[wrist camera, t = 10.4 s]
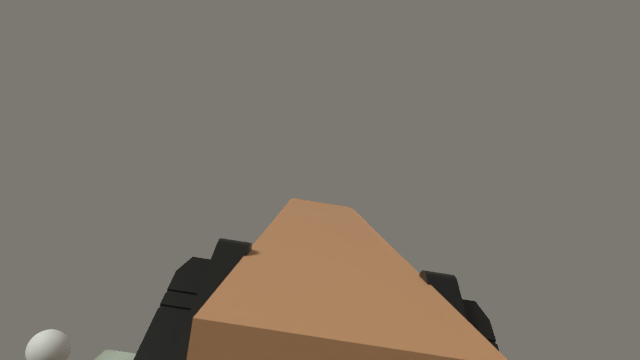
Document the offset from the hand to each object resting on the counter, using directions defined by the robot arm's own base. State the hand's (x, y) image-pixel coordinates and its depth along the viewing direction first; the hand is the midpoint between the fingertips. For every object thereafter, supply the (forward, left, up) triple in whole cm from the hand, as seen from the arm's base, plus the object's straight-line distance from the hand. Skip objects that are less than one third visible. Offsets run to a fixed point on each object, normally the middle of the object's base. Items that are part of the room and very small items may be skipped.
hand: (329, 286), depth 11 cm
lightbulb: (-52, +50, -39) cm, 83 cm away
